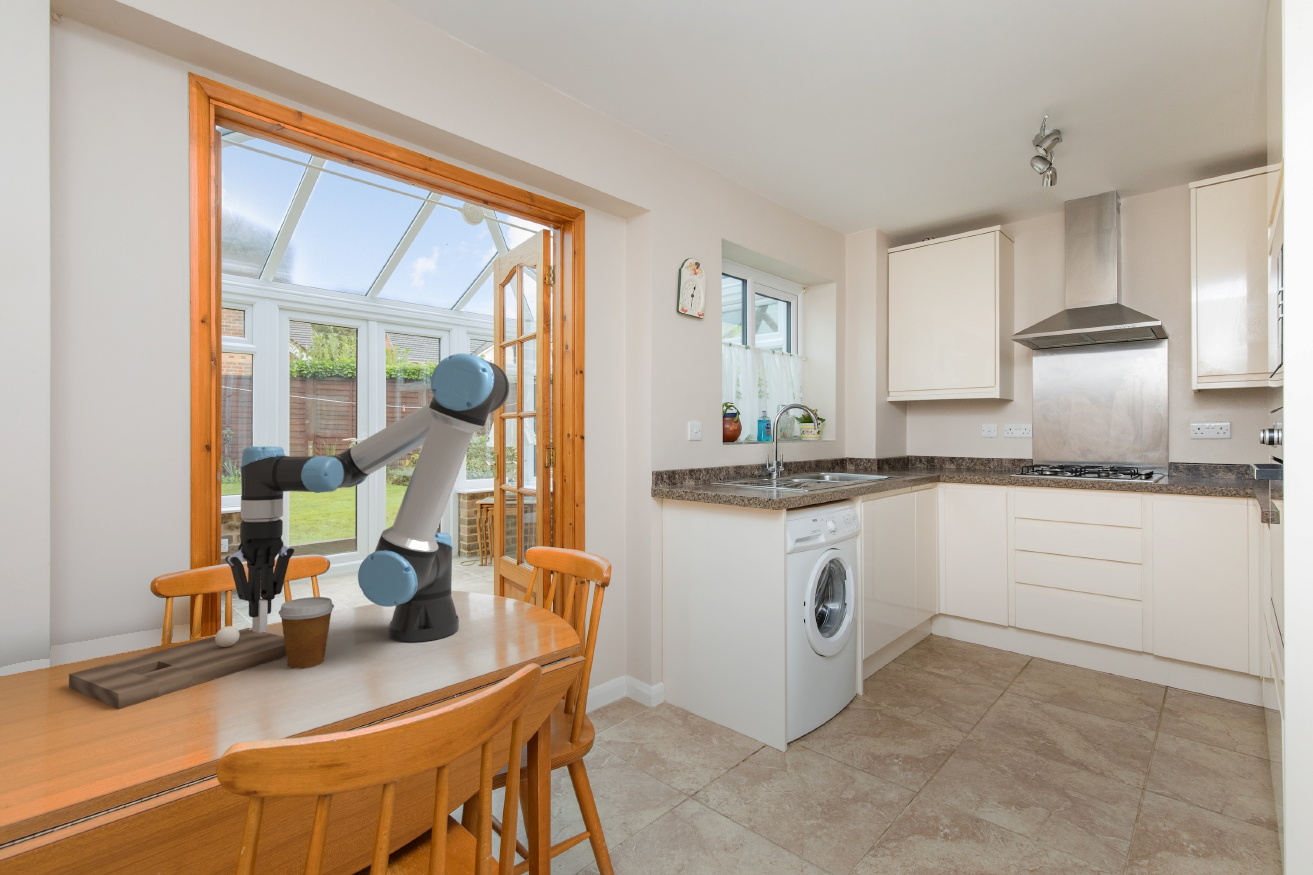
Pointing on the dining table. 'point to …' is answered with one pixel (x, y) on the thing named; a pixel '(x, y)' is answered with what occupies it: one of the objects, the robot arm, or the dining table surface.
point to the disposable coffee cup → (306, 630)
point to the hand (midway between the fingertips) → (259, 630)
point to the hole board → (175, 668)
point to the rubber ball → (227, 636)
